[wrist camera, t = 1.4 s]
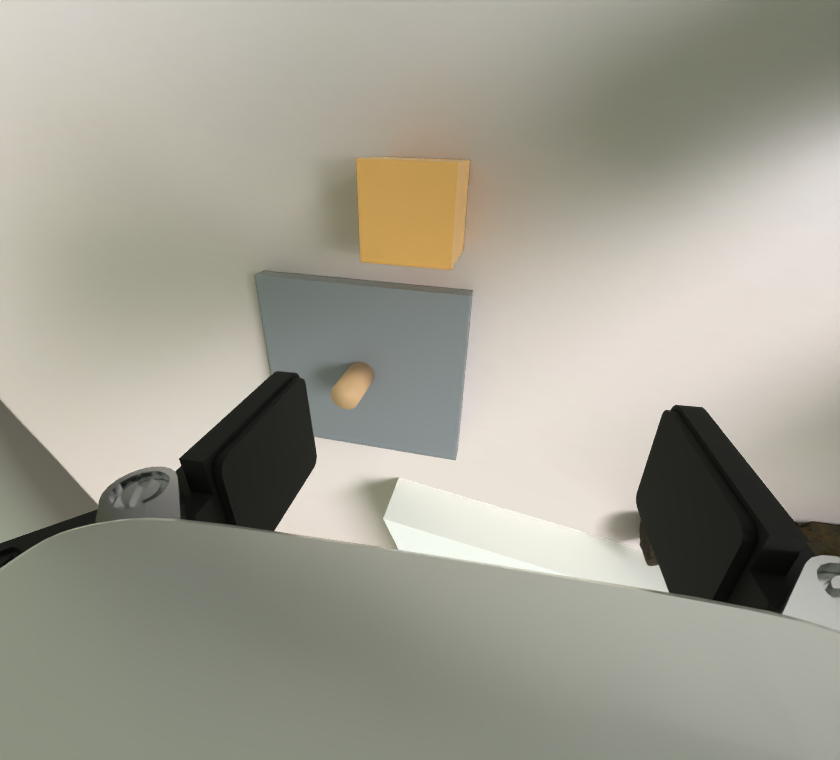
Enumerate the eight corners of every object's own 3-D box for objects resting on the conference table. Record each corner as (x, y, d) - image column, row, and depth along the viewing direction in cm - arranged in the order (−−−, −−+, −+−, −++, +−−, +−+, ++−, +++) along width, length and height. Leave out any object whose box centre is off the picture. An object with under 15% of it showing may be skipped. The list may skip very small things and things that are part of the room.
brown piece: (634, 538, 41) (646, 579, 37) (638, 508, 39) (651, 549, 35) (871, 553, 36) (914, 603, 32) (888, 521, 34) (936, 569, 30)
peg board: (264, 270, 36) (224, 289, 31) (472, 290, 32) (464, 314, 28) (288, 422, 43) (259, 455, 39) (457, 450, 40) (448, 490, 36)
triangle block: (686, 557, 41) (711, 619, 36) (587, 679, 55) (594, 737, 49) (400, 473, 44) (383, 518, 39) (372, 608, 58) (356, 656, 52)
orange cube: (385, 156, 29) (356, 158, 24) (470, 159, 28) (458, 162, 23) (386, 244, 32) (360, 262, 27) (463, 250, 31) (451, 269, 26)
